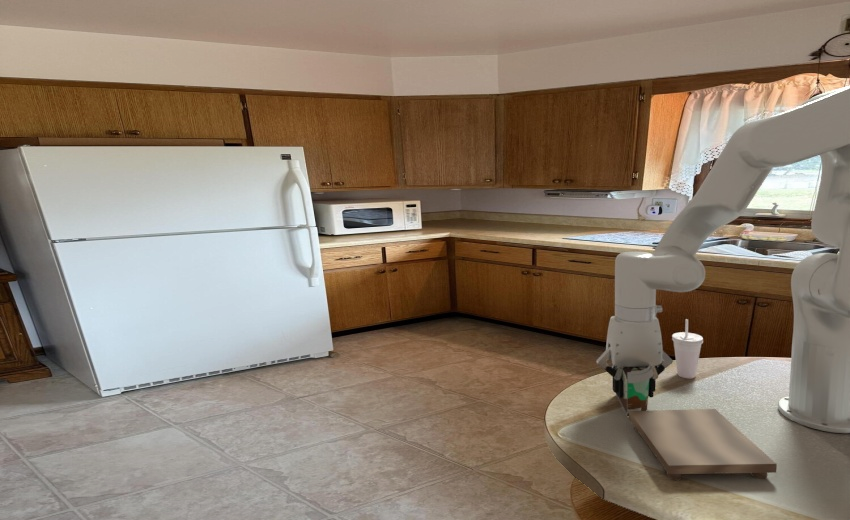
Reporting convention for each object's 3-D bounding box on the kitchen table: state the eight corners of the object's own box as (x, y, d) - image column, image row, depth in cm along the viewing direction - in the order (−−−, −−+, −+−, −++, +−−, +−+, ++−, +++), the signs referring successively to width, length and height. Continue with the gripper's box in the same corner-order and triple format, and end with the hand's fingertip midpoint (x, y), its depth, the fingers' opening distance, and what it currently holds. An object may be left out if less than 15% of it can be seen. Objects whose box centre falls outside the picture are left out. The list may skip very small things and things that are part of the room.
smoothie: (666, 375, 107) (667, 320, 104) (676, 367, 111) (677, 313, 109) (696, 383, 102) (698, 325, 100) (706, 374, 106) (707, 317, 104)
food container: (662, 420, 88) (661, 373, 86) (629, 420, 89) (628, 373, 87) (643, 391, 100) (643, 349, 98) (614, 391, 101) (613, 350, 99)
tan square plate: (714, 423, 86) (715, 408, 85) (775, 481, 69) (776, 463, 69) (628, 425, 87) (628, 411, 87) (668, 482, 71) (668, 465, 70)
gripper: (669, 305, 94) (667, 385, 97) (586, 308, 95) (587, 387, 98) (687, 316, 87) (684, 402, 90) (597, 319, 88) (597, 404, 91)
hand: (633, 393), depth 94 cm, fingers closed on food container, 5 cm apart
